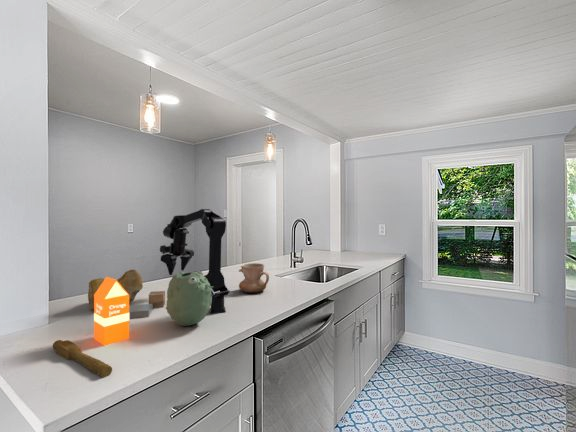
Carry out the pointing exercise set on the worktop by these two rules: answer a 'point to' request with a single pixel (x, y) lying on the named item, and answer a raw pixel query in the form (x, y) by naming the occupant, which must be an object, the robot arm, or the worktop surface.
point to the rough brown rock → (128, 281)
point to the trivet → (140, 310)
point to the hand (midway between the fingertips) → (176, 272)
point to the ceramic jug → (253, 278)
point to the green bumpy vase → (188, 298)
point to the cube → (157, 299)
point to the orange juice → (111, 313)
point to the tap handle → (81, 357)
